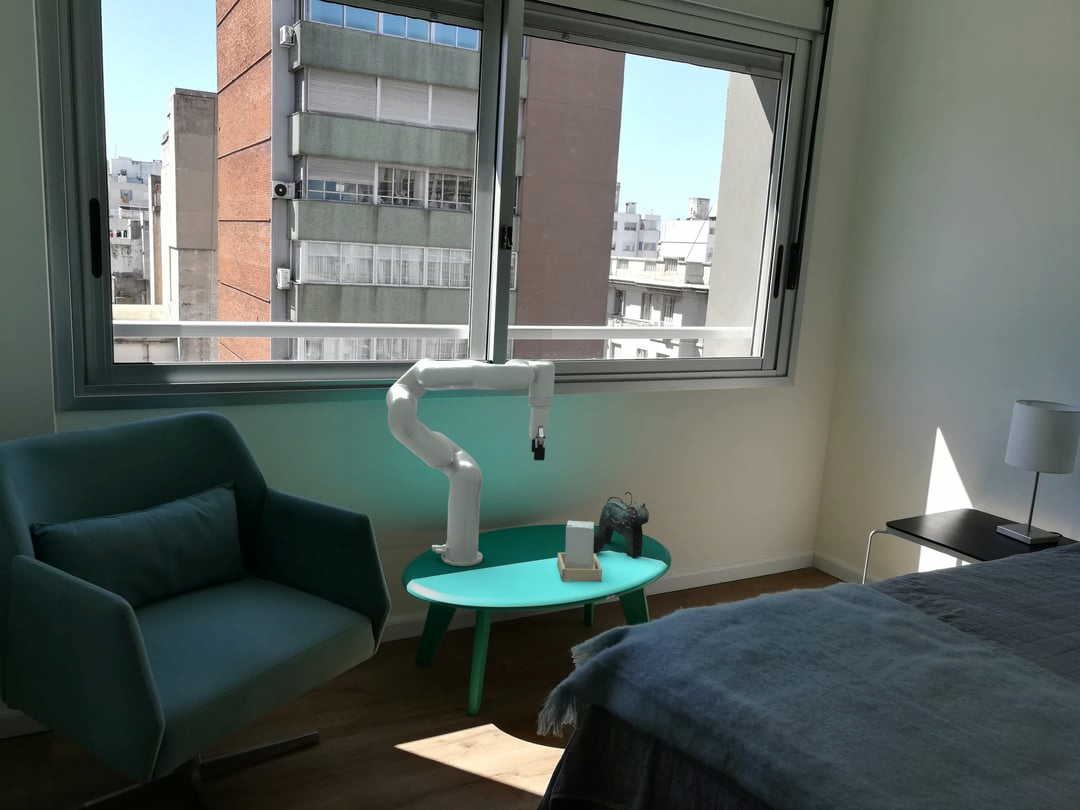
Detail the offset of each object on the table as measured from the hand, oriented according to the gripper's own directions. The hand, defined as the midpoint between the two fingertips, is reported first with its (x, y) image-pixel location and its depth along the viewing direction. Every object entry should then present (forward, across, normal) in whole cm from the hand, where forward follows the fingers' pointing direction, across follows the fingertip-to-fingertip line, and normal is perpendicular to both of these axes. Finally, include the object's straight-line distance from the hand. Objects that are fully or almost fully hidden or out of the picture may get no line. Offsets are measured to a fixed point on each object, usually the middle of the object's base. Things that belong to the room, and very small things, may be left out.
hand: (537, 456), depth 263 cm
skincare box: (+32, +13, +13) cm, 37 cm away
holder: (+32, +13, +13) cm, 37 cm away
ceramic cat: (+33, -7, +29) cm, 44 cm away
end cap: (+33, -3, +17) cm, 37 cm away
